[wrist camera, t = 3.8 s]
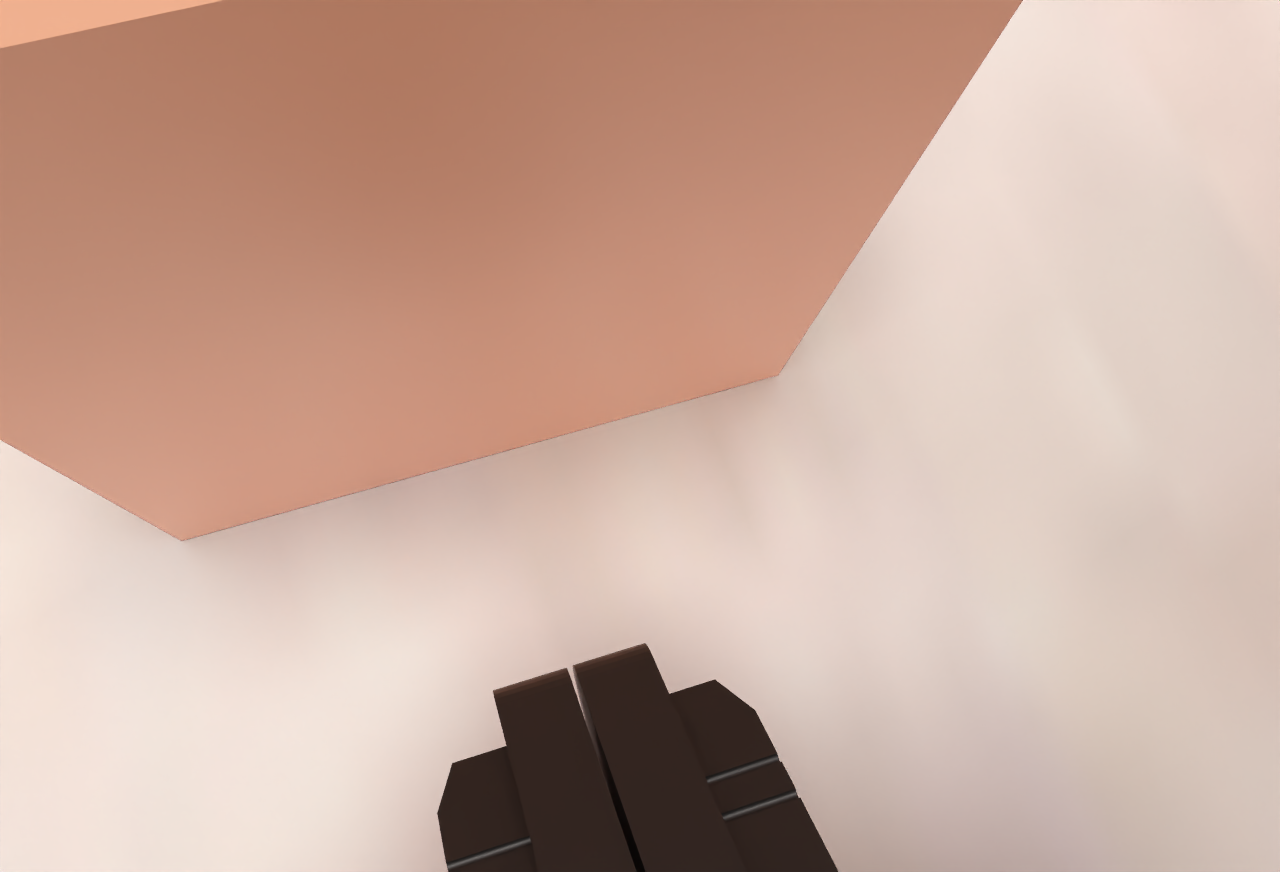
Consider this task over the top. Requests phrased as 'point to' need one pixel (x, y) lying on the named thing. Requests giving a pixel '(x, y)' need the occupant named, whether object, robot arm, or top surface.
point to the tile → (426, 222)
